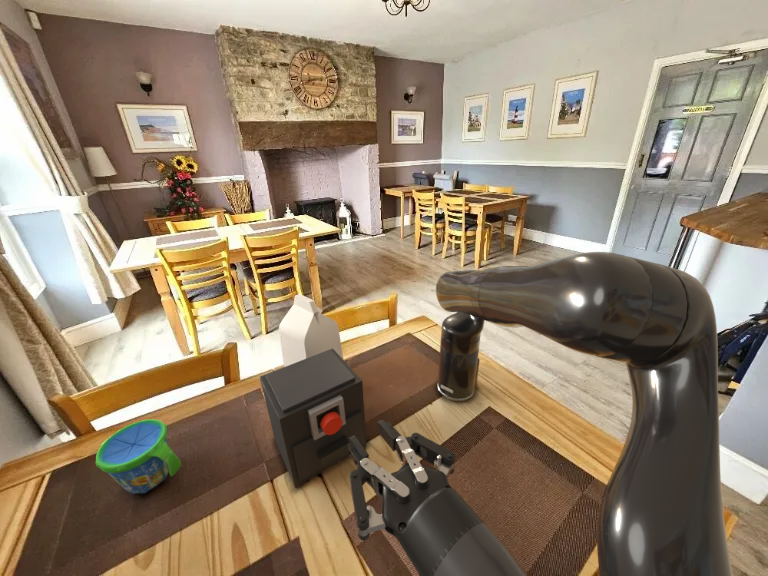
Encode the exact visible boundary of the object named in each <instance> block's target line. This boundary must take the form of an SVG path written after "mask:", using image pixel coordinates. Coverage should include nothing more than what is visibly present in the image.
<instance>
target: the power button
mask: <svg viewBox="0 0 768 576" xmlns="http://www.w3.org/2000/svg"><path fill="white" fill-rule="evenodd" d="M342 423H343V422H342V419H341V418H340V416H339V415H338V413H336V412H331V413H328V414H327V415H325V416H324V417H323V419H322V420H321V428H322V429H323V431H324V433H325V434H327V435H332V434H334V433H336V432H337V431H338V430H339V429H340V428H341V426H342Z"/></svg>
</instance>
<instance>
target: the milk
mask: <svg viewBox="0 0 768 576" xmlns="http://www.w3.org/2000/svg"><path fill="white" fill-rule="evenodd" d="M323 311H324V310H323V309H322V308H320V307H318V306H317V304H316V302H315V300H314V299H311V298H309V297H307V296H305V295H303V294H300V293H298V294H296V295H294V298H293V304H292V306H291V307H290V308H289V310H288V311H287V313H286V314H285V316H284V317H283V319H282V320H281V321H280V323H279V326H278V332H279V333H278V334H279V339H280V346H281V347H280V348H281V354H282V355H281V356H282V363H283V367H286V366H288V365H291V364H294V363H296V362H299V361H301V360H304V359H306V358H309V357H312V356H314V355H317V354H319V353H322V352H325V351H327V350H330V349H332V348H333V349H334V350H335V351H336V352H337V353H338V355H339V356H340V357H341V358H342V359H343V360H344V355H343V348H342V342H341V335H340V329H339V324H338V323H337V322H336V320H335V319H333V318H331V317H329V316H328V315H325V314H323Z"/></svg>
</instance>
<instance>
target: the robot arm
mask: <svg viewBox="0 0 768 576" xmlns="http://www.w3.org/2000/svg"><path fill="white" fill-rule="evenodd" d="M709 293H710V292H709V291H708V290H707V288H706V287H705V285H704V284H703V283H702V282H701V281H700V280H699V279H697V278H696V277H695V276H693V275H691V274H689V273H687V272H686V271H684V270H682V269H678V268H676V267H672V266H667V265H665V264H660V263H656V262H653V261H648V260H644V259H641V258H636V257H632V256H627V255H624V254H621V253H620V254H619V253H617V252H608V251H589V252H581V253H578V254H573V255H569V256H566V257H562V258H558V259H554V260H549V261H547V262H542V263H539V264H535V265H503V266H494V267H489V268H484V269H468V270H450V271H446V272H444V273H442V274H441V275H440V276H439V277H438V279H437V281H436V285H435V296H436V300H437V302H438V304H439V306H440V307H441V308H442V309H443V310H444V311H445V312H447V313H453V314H450V315H449V316H447V317H445V318H444V319H443V320H442V323H441V326H440V327H441V329H440V346H439V360H438V361H439V362H438V363H439V364H438V376H437V385H436V386H437V392H439V394H440V395H441V396H442V397H443V398H445V399H446V400H449V401H450V402H455V403H457V402H458V403H460V402H466V401H469V400H470V399H471V398H473V396H474V395H475V390H476V389H477V385H478V384H477V383H478V378H479V377H478V376H479V367H480V362H481V361H480V360H481V359H480V358H479V352H480V343H481V335H482V332H483V331H484V326H485V321H486V322H489V323H490V324H494V325H496V326H501V327H505V328H513V329H517V328H523V327H524V328H527V329H529V330H530V331H533V332H535V333H537V334H539V335H542V336H543V337H546V338H547V339H549V340H551V341H552V342H555V343H557V344H559V345H561V346H563V347H565V348H568V349H570V350H572V351H574V352H577V353H580V354H585V355H588V356H595V357H596V358H597V357H598V358H602V359H607V360H612V361H617V362H621V363H624V364H625V366H626V370H627V374H628V379H629V383H630V388H631V397H632V401H631V402H632V406H631V418H630V424H629V428H628V432H627V435H626V438H625V441H624V444H623V446H622V449H621V452H620V455H619V457H618V458H617V461H616V462H615V465H614V467H613V470H612V472H611V474H610V476H609V479H608V481H607V484H606V486H605V489H604V491H603V495H602V497H601V501H600V505H599V511H598V517H597V525H596V526H597V527H596V549H597V550H596V551H597V552H596V553H597V564H598V565H597V566H598V576H734V575H733V568H732V562H731V557H730V551H729V546H728V545H729V544H728V539H727V538H728V537H727V530H726V525H725V523H726V522H725V517H724V515H725V514H724V507H723V496H722V480H721V478H722V477H721V476H722V475H721V449H720V409H719V407H720V406H719V405H720V404H719V359H718V358H719V357H718V355H719V353H718V350H719V349H718V347H719V346H718V345H719V344H718V328H717V318H716V311H715V308H714V304H713V300H712V297H711V295H710V294H709ZM376 425H377V433H378V435H380V437H381V438H382V439H383V441H384V442H385V443H386V444H387V446H388V447H389V448H390V449H391V451H392V452H395V451H396V455H397V457H398V460H399V462H400V464H401V467H400V468H399V469H398V470H396V471H393V472H389V471H388V470H386V468H384V467H382V466H378V465H377V464H376V463H375V462H373V461H372V460H371V459H370V456H369V453H368V451H366V449H365V447H364V448H363V446H362V445H361V444H360V442H359V441H358V439H357V438H356V436H355V435H354V436H352V437H350V438H349V442H350V443H348V449H349V455H350V456H349V457H350V458H351V460H352V462H353V463H354V465H355V466H356V469H354V470H351V472H350V473H349V482H350V492H351V497H352V503H353V511H354V517H355V524H356V530H357V536H358V538H359V540H360V541H367V540H368V539H369V538H370V535H371V533H375V532H378V531H382V530H385V532H387V533H388V534H389V535H392V536H393V537H394V538H395V539H396V540H397V542H398V543H399V545H400V546H401V548H402V549H403V551H404V553H405V554H406V556H407V557H408V559H409V561H410V563H411V564H412V565H413V567H414V569H415V571H416V572H417V573H418V575H419V576H529V575H528V574H527V573H526V571H525V570H524V569H523V567H522V566H521V564H520V563H519V562H518V560H517V559H516V557H515V556H514V555H513V553H512V552H511V551H510V550H509V548H508V547H507V546H506V545H505V544H504V543H503V542H502V540H501V539H500V538H499V536H497V534H495V533H494V532H493V530H492V529H491V528H490V527H489V526H488V525H487V524H486V522H485V521H484V520H483V519H482V517H480V516H479V514H478V513H477V512H476V511H475V510H474V509H473V508H472V507H471V506H470V504H469V503H468V502H467V501H466V500H465V499H464V498H463V497H462V495H461V494H460V493H459V492H458V491H457V490H456V489H455V488H452V486H451V484H450V482H449V478H448V477H449V475H452V474H454V473H455V467H456V465H455V464H456V458H457V457H456V454H455V453H454V452H453V451H451V450H449V449H448V448H445V447H444V446H442V445H440V444H438V443H437V442H435V441H433V440H432V439H429V438H428V437H426V436H424V435H422V434H421V433H419V432H413V433H411V434H410V436H405V435H404V436H403V435H402V434H400V432H399V431H398V430H397V429H396V428H395V427H394V426H393V424H392V423H391V422H389V421H385V420H384V419H380V420H378V421H377V423H376ZM418 457H419V458H421V459H423V460H424V461H426V462H428V463H429V464H430V465H432V466H433V468H432V467H429V466H426V465H423V464H421V462H420V460H419V459H418ZM365 484H367V485H368V486H369V487H370V488H372V490H373V492H374V493H375V495H376V496H377V497H379V498H380V499H381V500H382V503H381V504H382V505H381V514H380V513H377V512H376V509H375V507H373V506H372V505H367V503H366V496H365V491H364V487H363V486H364V485H365Z"/></svg>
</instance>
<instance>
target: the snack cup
mask: <svg viewBox="0 0 768 576" xmlns="http://www.w3.org/2000/svg"><path fill="white" fill-rule="evenodd" d="M168 443H169V442H168V426H167V424H165V423H164V422H163V421H162V420H159V419H153V418H152V419H151V418H149V419H143V420H138V421H135V422H132V423H131V424H128V425H125V426H124V427H122V428H121V429H119V430H118V431H116V432H115V433H113V434H112V435H110V436H109V437H108V438H106V439H105V440H104V441H103V442H102V443H101V444H100V446H99V448H98V450H97V452H96V454H95V455H96V456H95V462H94V463H95V465H96V467H97V468H99V469H100V470H101V471H103V472H104V473H107V474H108V475H109V476H110V477H111V478H112V479H113V480H114V481H115V482H116V483H117V484H119V485H120V486H121V487H122V488H123V489H124V490H125V491H126V492H128V494H132V495H136V494H146V493H148V491H151V490H153V489H154V488H156V487H157V486H159V485H160V484H161V483H162V482H164V481H165V480H166V479H167V477H168V475H169V477H171V478H172V477H173V476H175V475H176V474H177V473H178V471H179V470H180V468H181V466H182V460H181V459H180V458H179V457H178V456H177V455H176V453H175V452H174V451H173V450H172V448H171V447H170V446H169V444H168Z"/></svg>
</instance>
